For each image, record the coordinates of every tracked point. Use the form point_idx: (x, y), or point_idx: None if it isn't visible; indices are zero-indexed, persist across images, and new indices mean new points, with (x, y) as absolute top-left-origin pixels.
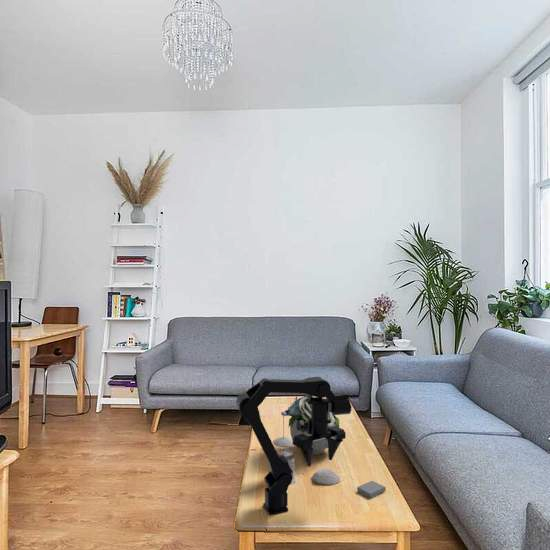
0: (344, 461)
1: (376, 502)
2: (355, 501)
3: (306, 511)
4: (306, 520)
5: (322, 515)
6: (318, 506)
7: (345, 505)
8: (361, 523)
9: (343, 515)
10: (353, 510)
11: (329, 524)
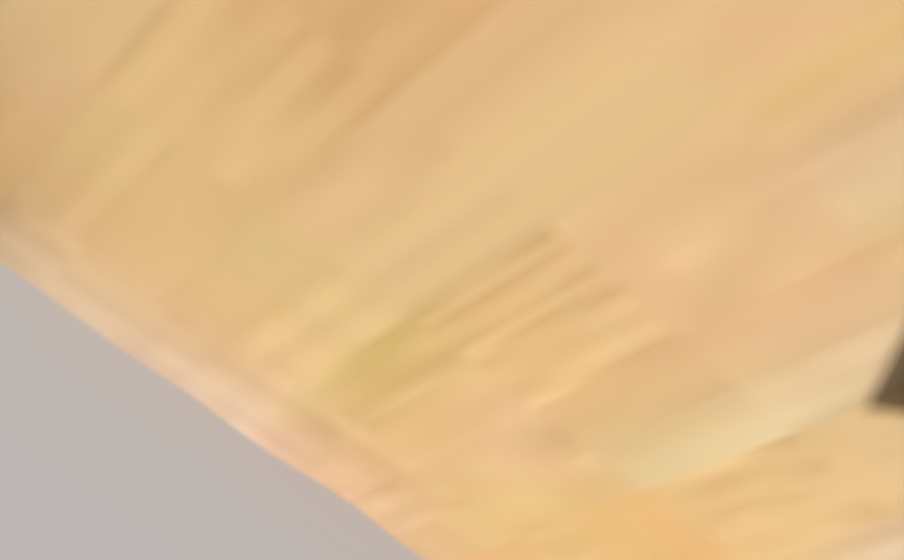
0: None
1: (870, 472)
2: (751, 340)
3: (122, 104)
4: (21, 221)
5: (234, 271)
6: (327, 129)
7: (592, 316)
8: (434, 530)
9: (412, 395)
10: (564, 409)
11: (190, 391)
